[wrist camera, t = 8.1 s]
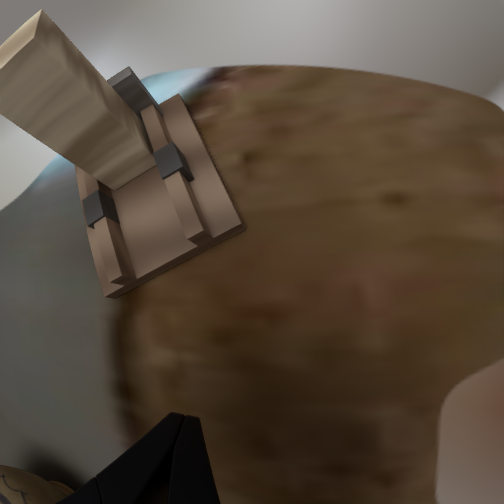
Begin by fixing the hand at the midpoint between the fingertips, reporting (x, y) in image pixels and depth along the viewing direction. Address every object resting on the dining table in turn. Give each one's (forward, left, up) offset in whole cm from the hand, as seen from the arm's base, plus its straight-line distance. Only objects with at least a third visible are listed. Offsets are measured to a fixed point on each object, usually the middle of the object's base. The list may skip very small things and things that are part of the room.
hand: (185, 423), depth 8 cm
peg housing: (+11, +12, -13) cm, 21 cm away
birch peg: (+14, +13, -11) cm, 22 cm away
